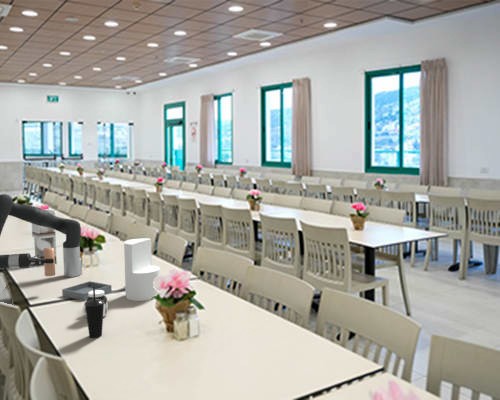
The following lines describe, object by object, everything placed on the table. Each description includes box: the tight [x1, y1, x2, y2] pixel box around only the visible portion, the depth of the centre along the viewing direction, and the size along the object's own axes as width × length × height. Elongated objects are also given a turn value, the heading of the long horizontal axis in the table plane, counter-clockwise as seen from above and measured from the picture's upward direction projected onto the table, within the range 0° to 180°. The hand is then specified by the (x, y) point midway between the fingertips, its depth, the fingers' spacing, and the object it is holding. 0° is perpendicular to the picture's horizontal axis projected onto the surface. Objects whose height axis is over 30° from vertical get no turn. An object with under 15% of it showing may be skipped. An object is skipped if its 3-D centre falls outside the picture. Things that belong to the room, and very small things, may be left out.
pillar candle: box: [43, 247, 56, 277], centre depth 256 cm, size 5×5×14 cm
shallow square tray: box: [61, 280, 112, 302], centre depth 257 cm, size 18×16×4 cm
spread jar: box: [82, 290, 109, 320], centre depth 221 cm, size 12×11×12 cm
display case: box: [31, 208, 58, 267], centre depth 323 cm, size 11×11×35 cm
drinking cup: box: [83, 287, 105, 339], centre depth 198 cm, size 8×8×20 cm
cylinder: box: [123, 237, 161, 302], centre depth 252 cm, size 17×17×28 cm
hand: (54, 259), depth 256 cm, fingers closed on pillar candle, 5 cm apart
